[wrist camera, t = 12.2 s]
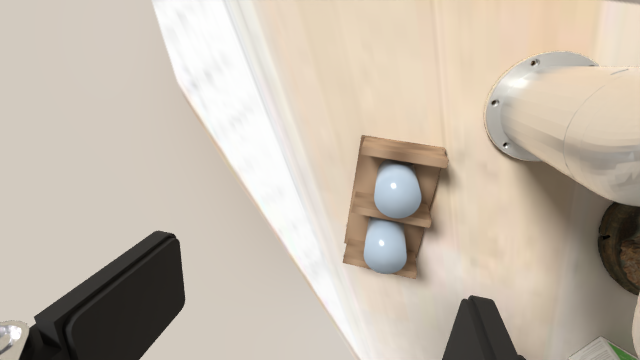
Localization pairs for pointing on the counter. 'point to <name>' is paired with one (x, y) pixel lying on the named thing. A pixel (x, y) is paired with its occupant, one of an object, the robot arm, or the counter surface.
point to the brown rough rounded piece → (622, 245)
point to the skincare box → (602, 351)
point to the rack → (362, 200)
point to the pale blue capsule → (397, 189)
